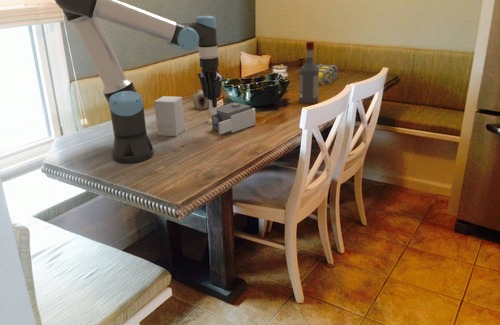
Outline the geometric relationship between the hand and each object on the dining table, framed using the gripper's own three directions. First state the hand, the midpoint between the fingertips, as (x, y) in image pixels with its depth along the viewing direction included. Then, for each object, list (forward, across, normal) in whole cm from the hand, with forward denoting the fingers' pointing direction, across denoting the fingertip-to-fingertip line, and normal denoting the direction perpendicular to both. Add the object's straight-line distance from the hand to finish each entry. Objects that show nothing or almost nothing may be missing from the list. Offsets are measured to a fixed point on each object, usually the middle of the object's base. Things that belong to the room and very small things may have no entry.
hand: (213, 114), depth 186 cm
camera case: (+9, 0, -10) cm, 14 cm away
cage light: (+11, +21, -110) cm, 113 cm away
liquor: (+10, -1, -66) cm, 66 cm away
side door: (+8, -6, -8) cm, 13 cm away
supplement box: (+9, +16, +10) cm, 21 cm away
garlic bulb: (+9, +34, -24) cm, 42 cm away
